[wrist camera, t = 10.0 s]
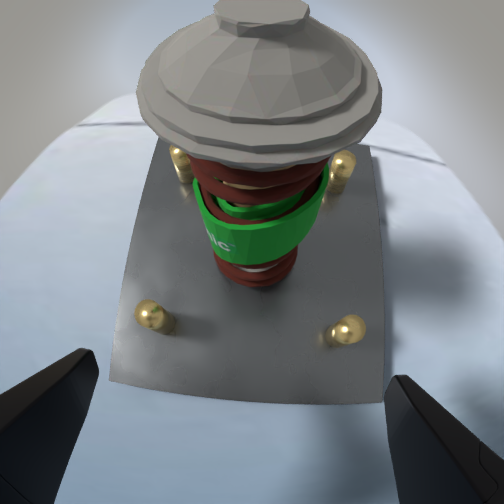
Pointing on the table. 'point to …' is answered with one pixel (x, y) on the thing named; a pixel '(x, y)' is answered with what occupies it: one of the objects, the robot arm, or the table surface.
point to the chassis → (254, 299)
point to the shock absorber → (259, 123)
